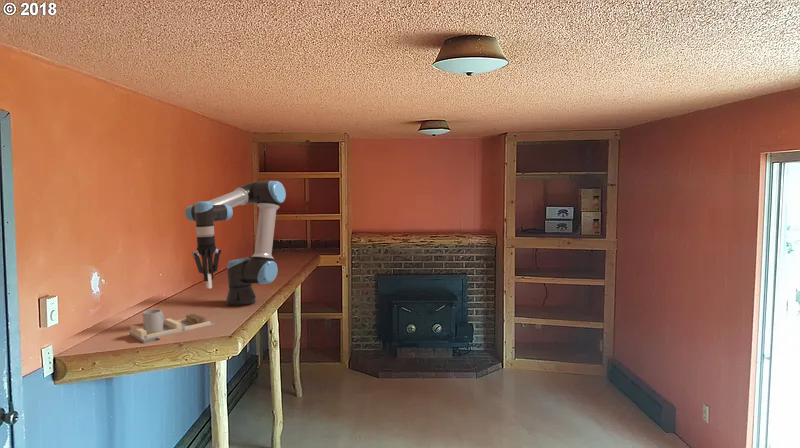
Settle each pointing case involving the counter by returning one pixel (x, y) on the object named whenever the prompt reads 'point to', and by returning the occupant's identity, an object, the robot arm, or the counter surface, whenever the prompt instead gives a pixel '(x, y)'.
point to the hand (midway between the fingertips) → (209, 287)
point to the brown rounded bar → (195, 319)
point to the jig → (166, 329)
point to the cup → (153, 321)
